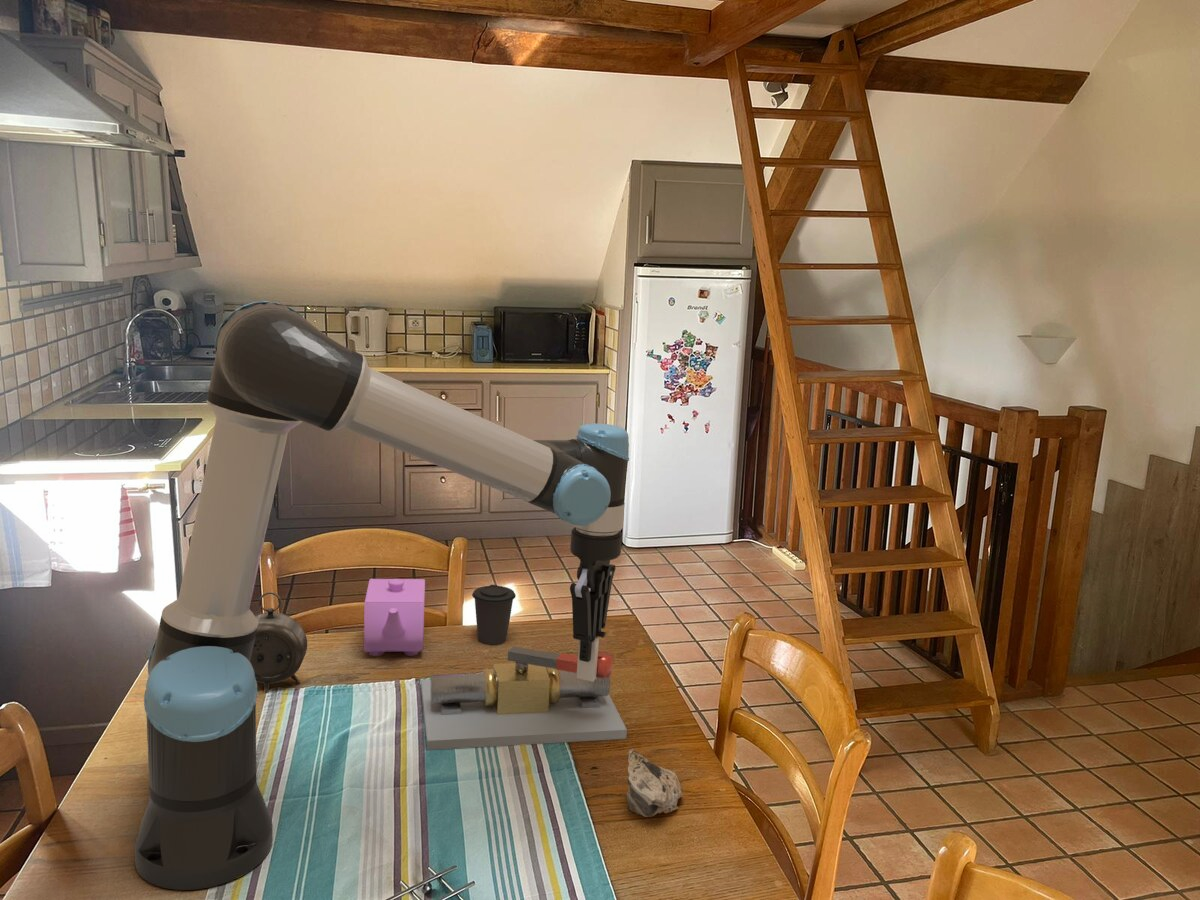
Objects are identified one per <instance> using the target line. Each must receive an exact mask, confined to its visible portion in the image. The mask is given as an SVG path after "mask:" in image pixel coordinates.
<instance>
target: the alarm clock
mask: <svg viewBox="0 0 1200 900" xmlns="http://www.w3.org/2000/svg"><path fill="white" fill-rule="evenodd" d="M267 595H273V596H275V597H276V598H277V599H278V605H277V607H275V608H273V607H269V608H267V609H266V608H264V606H263V604H262V599H263V598H264V597H265V596H267ZM258 604H259V607H260V609H261V610H263V611H265V612H262V613H259V614H257V615H255V617H256V618H257V620H258V627H257V632H256V637H255V642H254V646H253V651H252V655H251V660H250V663H251V665H252V667H253V669H254V673H255V678H256V682H257V683H259V684H264V688H263V689H264V690H263V691H264V693H267V692H269V690H270V689H269V688H270V684H272V685H273V684H277V683H281V682H284V681H286V680H288V679H290V678H291V679H292V680H293V681H294V683H295V684H296V685H299V684H300V679H298V677H297V675H296V673H297V672H298V671H299V669H300V668H301V665H302V663H303V661H304V658H305V656H306V654H307V651H308V639H307V635H306V632H305V630H304V629H303V627H302V626H301V625H300V623H299V622H298V621H296V620H295V619H293V618H292V617H291V616H289V615H286V614H284V613H279V612H276V611H277V610H278V609H279V608H281V604H282V599H281V597H280V595H279V594H277V593H276V592H273V591H268V592H265V593H263V594H261V596H260V597H259V600H258Z"/></svg>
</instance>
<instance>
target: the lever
mask: <svg viewBox="0 0 1200 900" xmlns="http://www.w3.org/2000/svg"><path fill="white" fill-rule="evenodd" d="M613 657H614V656H613V654H612V653H611V652H607V651H603V650H602V651H598V659H597V673H596V677H598V678H608V677H612V674H613V662H614V661H613V660H614V659H613ZM507 661H510V662H513V663H516V665H515V671H516V672H518V673H526V672H528V664H531V665H537V666H542V667H548V668H554V669H556V670H562V671H567V672H573V673H577V663H578V654H572V653H571V654H570V653H564V652H561V653H555V652H549V651H543V650H538V649H537V650H536V649H532V648H527V647H526V648H525V647H519V646H514V645H512V646H511V647H510V649H509V650H508V652H507Z"/></svg>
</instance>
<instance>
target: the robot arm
mask: <svg viewBox="0 0 1200 900" xmlns="http://www.w3.org/2000/svg"><path fill="white" fill-rule="evenodd" d="M214 353H215V357H214V362H213V367H212V372H211V376H210V381H209V386H208V390H207V391H208V392H207V397H206V403H207V406H209V409H211V412H213V413H214V416H215V418H216V419H215V423H214V428H213V433H212V437H211V442H210V447H209V452H208V457H207V460H206V466H205V470H204V476H203V480H202V484H201V490H200V494H199V498H198V504H197V509H196V513H195V517H194V522H193V527H192V532H191V536H190V537H191V538H190V542H189V547H188V550H187V556H186V560H185V565H184V569H183V576H182V580H181V585H180V589H179V594H178V598H177V599H176V600H173V602H171V603H169V604H167V605H166V606H165V607H164V608H163V609H162V611H161V615H160V620H159V625H158V630H157V635H156V638H155V640H154V642H153V645H152V647H151V648H150V651H149V655H148V661H147V674H148V676H147V680H146V683H145V684H146V685H145V686H146V687H145V690H144V695H143V697H144V698H143V704H144V705H143V706H144V712H145V714H146V734H147V739H146V740H147V763H148V764H147V765H148V784H149V785H148V786H149V791H148V792H149V798H148V803H147V805H146V808H145V811H144V814H143V817H142V820H141V823H140V826H139V830H138V831H137V834H136V839H135V844H134V860H135V861H134V862H135V863H134V864H135V868H136V869H135V870H136V871H137V873H138V874H139V876H140V877H142V879H144V880H145V881H146V882H148V883H150V884H151V885H153V886H156V887H160V888H163V889H167V890H169V889H170V890H177V891H192V890H193V891H194V890H201V889H207V888H213V887H216V886H219V885H223V884H226V883H229V882H232V881H233V880H236V879H238V878H240V877H242V876H244V875H246V874H247V873H249V872H251V871H252V870H254V869H255V868H256V867H258V866H259V865H260V864H261V863H262V862H263V861H264V860H265V859H266V857H267V856H268V854H269V853H270V852H271V850H272V846H273V841H274V839H273V836H274V833H273V829H274V828H273V821H272V816H271V814H270V812H269V808H268V806H267V804H266V801H265V799H264V796H263V795H262V791H261V790H260V787H259V784H258V781H257V778H258V777H257V775H258V773H257V717H256V716H257V711H256V709H257V708H256V701H257V698H258V682H256V678H255V673H254V669H253V667H252V665H251V663H250V660H251V655H252V651H253V646H254V642H255V637H256V632H257V627H258V620H257V618H256V617H255V616H256V615H255V614H254V613H253V611H252V610H251V609H250V606H251V601H252V599H253V593H254V589H255V584H256V579H257V575H258V570H259V565H260V562H261V557H262V552H263V548H264V543H265V539H266V534H267V530H268V524H269V521H270V516H271V511H272V507H273V503H274V498H275V493H276V488H277V485H278V481H279V476H280V475H279V474H280V469H281V467H282V466H281V465H282V461H283V457H284V453H285V448H286V443H287V439H288V433H290V431H291V430H292V429H294V428H296V427H297V426H299V425H300V424H302V423H306V424H309V425H311V426H314V427H317V428H319V429H323V430H324V431H327V432H330V433H331V432H335V431H337V430H340V429H346V430H349V431H351V432H352V433H356V434H358V435H361V436H363V437H366V438H368V439H371V440H374V441H375V442H379V443H380V444H383V445H386V446H388V447H390V448H393V449H396V450H398V451H401V452H403V453H405V454H408V455H410V456H413V457H415V458H418V459H421V460H423V461H426V462H428V463H430V464H432V465H435V466H438V467H440V468H443V469H445V470H447V471H450V472H453V473H455V474H458V475H459V476H463V477H465V478H467V479H470V480H472V481H475V482H478V483H480V484H482V485H485V486H487V487H490V488H493V489H495V490H496V491H497V490H498V491H500V492H502V493H503V494H508V495H509V496H512V497H514V498H518V499H520V500H522V501H525V502H527V503H529V504H531V505H533V506H536V507H538V508H541V509H543V510H545V511H548V512H550V513H553V514H555V515H556V516H557V517H558V518H559V519H560V520H562V521H564V522H568V523H570V524H571V525H572V526H573V528H572V529H571V533H570V546H569V547H570V548H569V549H570V553H571V554H572V555H573V556H574V557H577V558H578V559H579V561H580V562H579V565H578V567H577V570H576V572H577V573H576V578H577V582H576V583H575V582H571V584H570V585H569V591H570V595H571V605H572V606H571V607H572V611H571V613H572V637H573V639H574V640H578V647H577V648H578V650H577V651H578V652H577V655H578V663H577V677H576V678H579V679H583V680H588V681H592V682H593V681H594V680H595V679H596V673H597V659H598V652H599V644H600V638H605V637H606V632H605V631H602V629H605V628H606V624H607V616H608V610H609V605H610V598H611V592H612V584H613V579H614V576H615V572H616V565H615V564H611V561H612V560H616V559H617V558H619V557H620V556H621V551H622V541H623V540H622V539H623V533H622V532H621V530H622V529H623V528H624V518H625V504H626V503H625V500H626V499H625V498H626V489H627V488H626V487H627V485H626V484H627V477H628V476H627V473H628V463H629V461H630V457H629V456H630V455H629V453H630V448H629V447H630V443H629V441H630V440H629V438H630V437H629V433H628V431H627V430H626V429H625V428H624V427H621V426H618V425H615V424H610V423H609V424H608V423H588V424H587V423H586V424H582V425H580V426H579V427H578V430H577V434H576V438H572V439H531V438H528V437H526V436H524V435H522V434H519V433H517V432H515V431H514V430H511V429H508V428H507V427H504V426H502V425H500V424H497V423H494V422H493V421H490V420H488V419H486V418H484V417H481V416H479V415H477V414H475V413H473V412H470V411H467V410H466V409H465V408H464V409H463V408H461V407H459V406H457V405H455V404H452V403H450V402H448V401H445V400H443V399H440V398H439V397H436V396H434V395H431V394H430V393H427V392H426V391H423V390H421V389H418V388H416V387H414V386H412V385H409V384H408V383H405V382H403V381H401V380H398V379H396V378H394V377H392V376H390V375H387V374H385V373H383V372H381V371H378V370H376V369H373V368H371V367H370V366H369V365H368V361H367V358H366V357H365V355H363V354H362V353H359V352H358V351H354V350H353V349H350V348H348V347H346V346H344V345H342V344H341V343H339V342H337V341H336V340H335V339H332V338H331V337H329V336H328V335H326V334H325V333H323V331H321V330H320V329H318V328H317V327H316V326H315V325H313V324H312V323H311V322H310V321H309V320H308V319H306V318H305V317H304V316H303V315H302V314H300V313H299V312H298V310H295V309H294V308H292V307H291V306H287V305H284V304H281V303H279V302H272V301H267V300H264V301H254V302H251V303H247V304H244V305H242V306H241V305H240V306H239V307H237V308H236V309H235V310H234V311H231V313H229V315H227V316H226V317H225V319H224V321H222V322H221V323H220V326H219V327H218V329H217V331H216V335H215V339H214Z"/></svg>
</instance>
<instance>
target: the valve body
mask: <svg viewBox="0 0 1200 900" xmlns="http://www.w3.org/2000/svg"><path fill="white" fill-rule="evenodd" d="M515 665H516V662H511V663H509V662H508V663H505V662H504V663H493V667H485V668H483V670H482V672H476V673H475V672H473V673H472V672H471V673H450V674H449V673H448V674H446V673H445V674H444V673H443V674H431V675H430V679H431V680H430V699H431V704H440V709H441V715H456V714H461V704H460V703H469V702H483V704H484V706H495V708H496V712H497V715H500V714H520V713H540V712H548V707H549V703H558V702H559V699H560V698H575V697H577V699H578V701H579V703H580V706H581V708H597V707H600V700H599V698H598V696H608V695H610V691H611V690H610V689H611V679H610V677H611V676H610V677H608V678H598V677H596V679H595V680H594V681H593V682H592V681H588V680H583V679H579V678H576V677H577V673H573V672H567V671H562V670H556V669H554V668H548V667H542V666H537V665H531V664H528V672H526V673H518V672H516V671H515Z"/></svg>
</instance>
